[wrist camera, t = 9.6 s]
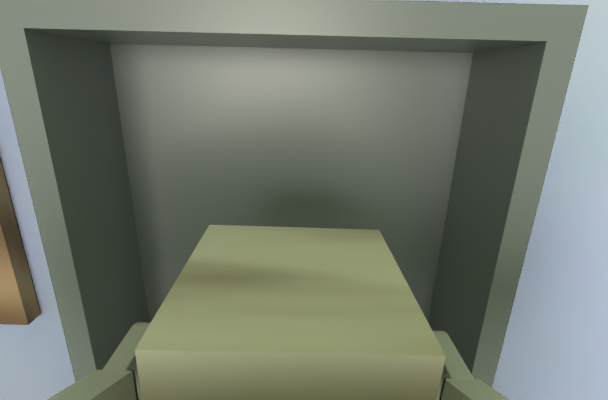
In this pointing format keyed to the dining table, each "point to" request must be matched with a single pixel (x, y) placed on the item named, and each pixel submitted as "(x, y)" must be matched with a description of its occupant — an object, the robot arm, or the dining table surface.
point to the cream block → (289, 321)
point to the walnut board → (14, 267)
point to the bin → (285, 143)
